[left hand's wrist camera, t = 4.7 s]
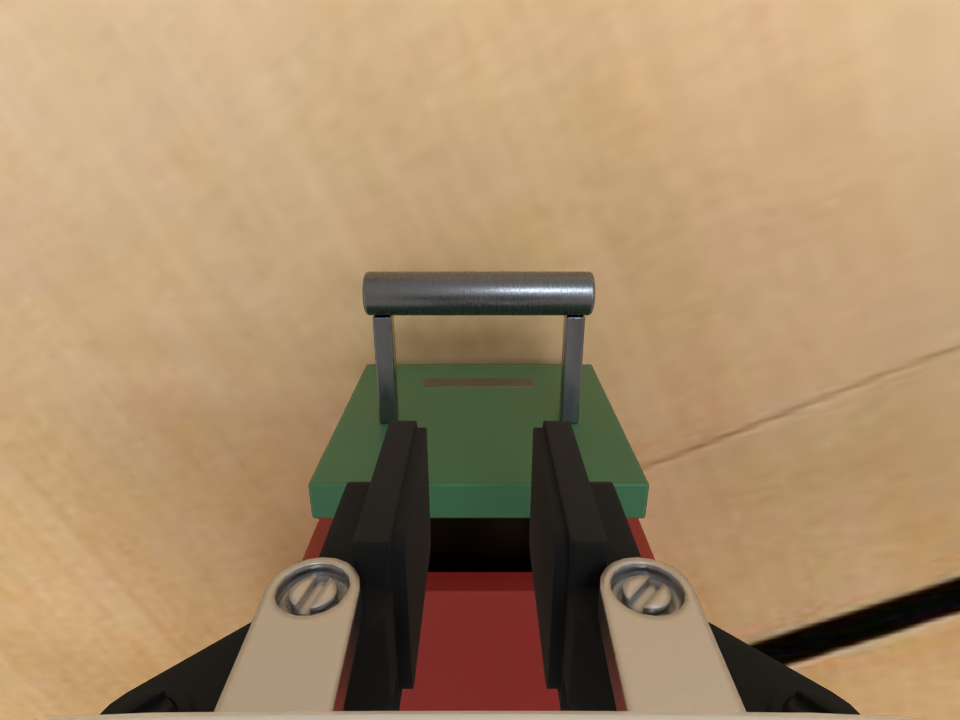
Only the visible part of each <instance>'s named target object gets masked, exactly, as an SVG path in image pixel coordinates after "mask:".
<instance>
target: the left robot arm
mask: <svg viewBox="0 0 960 720" xmlns="http://www.w3.org/2000/svg"><path fill="white" fill-rule="evenodd" d="M430 546H431V529H430V501H429V473H428V445H427V428H426V427H417V421H390V422H389V425H388V428H387V431H386V434H385V437H384V441H383V444H382V447H381V450H380V453H379V457H378V460H377V463H376V466H375V469H374V473H373V476H372V479H371V482H348V483H347V485H346V487H345V489H344V492H343V495H342V497H341V500H340V502H339V505H338V508H337V510H336V513H335V516H334V518H333V521H332V524H331V526H330V529H329V531H328V534H327V537H326V539H325V542H324V545H323V547H322V550H321V553H320V555H319V558H313V559H307V560H304V561H301V562H298V563H295V564H293V565H291V566H289V567H288V568H286V569H284V570H282V571H281V572H280V573H279V574H278V575H277V576H276V577H274V578H273V579H272V581H271V582H270V584H269V585H268V587H267V589H266V590H265V593H264V595H263V598H262V600H261V602H260V605H259V607H258V609H257V612H256V614H255V616H254V619H253V621H252V622H251V623H249V624H247V625H246V626H244V627H242V628H240V629H239V630H237V631H235V632H233V633H231V634H230V635H228V636H226V637H224V638H223V639H221V640H219V641H217V642H216V643H214V644H212V645H210V646H209V647H207V648H205V649H203V650H201V651H200V652H198V653H196V654H194V655H193V656H191V657H189V658H187V659H186V660H184V661H182V662H180V663H178V664H177V665H175V666H173V667H171V668H170V669H168V670H166V671H164V672H163V673H161V674H159V675H157V676H156V677H154V678H152V679H150V680H148V681H147V682H145V683H143V684H141V685H140V686H138V687H136V688H134V689H133V690H131V691H129V692H127V693H126V694H124V695H123V696H121V697H120V698H119V699H117V700H116V701H114V702H113V703H111V704H110V705H109V706H108V707H107V708H106V709H105V710H104V711H103V712H102V713H101V714H100V715H84V716H62V717H53V718H45V719H36V720H924V719H915V718H907V717H898V716H875V715H860V714H859V713H858V712H857V711H856V710H855V709H854V708H853V707H852V706H851V705H850V704H849V703H847V702H846V701H844V700H843V699H841V698H840V697H839V696H837V695H836V694H834V693H833V692H831V691H829V690H827V689H826V688H824V687H822V686H820V685H819V684H817V683H815V682H813V681H812V680H810V679H808V678H806V677H804V676H803V675H801V674H799V673H797V672H796V671H794V670H792V669H790V668H789V667H787V666H785V665H783V664H782V663H780V662H778V661H776V660H774V659H773V658H771V657H769V656H767V655H766V654H764V653H762V652H760V651H759V650H757V649H755V648H753V647H751V646H750V645H748V644H746V643H744V642H743V641H741V640H739V639H737V638H736V637H734V636H732V635H730V634H729V633H727V632H725V631H723V630H721V629H720V628H718V627H716V626H714V625H713V624H711V623H709V622H708V621H707V619H706V616H705V614H704V612H703V609H702V607H701V605H700V602H699V600H698V598H697V595H696V593H695V590H694V589H693V587H692V585H691V584H690V582H689V581H688V579H687V578H686V577H684V576H683V575H682V574H681V573H680V572H679V571H678V570H676V569H674V568H672V567H671V566H669V565H667V564H665V563H662V562H659V561H656V560H653V559H647V558H641V555H640V553H639V550H638V547H637V545H636V542H635V539H634V537H633V534H632V531H631V529H630V526H629V524H628V521H627V518H626V516H625V513H624V510H623V508H622V505H621V502H620V500H619V497H618V495H617V492H616V489H615V487H614V485H613V483H612V482H589V479H588V476H587V473H586V469H585V466H584V463H583V460H582V457H581V453H580V450H579V447H578V444H577V441H576V437H575V434H574V431H573V428H572V425H571V422H570V421H543V427H534V428H533V446H532V473H531V501H530V529H529V546H530V557H531V565H532V574H533V582H534V591H535V599H536V608H537V616H538V624H539V633H540V641H541V650H542V658H543V666H544V675H545V683H546V688H547V689H558V696H559V703H560V711H400V703H401V696H402V689H413V688H414V683H415V675H416V667H417V658H418V650H419V641H420V633H421V624H422V616H423V608H424V599H425V591H426V582H427V574H428V565H429V557H430Z"/></svg>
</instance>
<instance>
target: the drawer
mask: <svg viewBox="0 0 960 720" xmlns="http://www.w3.org/2000/svg"><path fill="white" fill-rule="evenodd" d="M594 302H595V282H594V277H593V274H592V273H591V272H367V273H365V276H364V279H363V305H364V309H365V312H366V314H368V315H374V317H373V329H374V344H375V359H376V365H367V366H366V368H365V370H364V372H363V374H362V376H361V378H360V380H359V382H358V384H357V386H356V388H355V390H354V392H353V394H352V396H351V398H350V400H349V403H348V405H347V407H346V409H345V411H344V413H343V415H342V417H341V419H340V421H339V423H338V425H337V427H336V429H335V431H334V433H333V435H332V437H331V439H330V442H329V444H328V446H327V448H326V450H325V452H324V454H323V456H322V458H321V460H320V462H319V464H318V466H317V468H316V470H315V472H314V474H313V476H312V478H311V481H310V483H309V493H310V502H311V510H312V516H313V518H334V516H335V513H336V510H337V508H338V505H339V502H340V500H341V497H342V495H343V492H344V489H345V487H346V485H347V483H348V482H371V479H372V476H373V473H374V469H375V466H376V463H377V460H378V457H379V453H380V450H381V447H382V444H383V441H384V437H385V434H386V431H387V428H388V425H389V422H390V421H417V427H426V428H427V445H428V473H429V501H430V529H431V546H430V557H429V565H428V572H532V565H531V557H530V546H529V529H530V501H531V473H532V446H533V428H534V427H543V421H570V422H571V425H572V428H573V431H574V434H575V437H576V441H577V444H578V447H579V450H580V453H581V457H582V460H583V463H584V466H585V469H586V473H587V476H588V479H589V482H612V483H613V485H614V487H615V489H616V492H617V495H618V497H619V500H620V502H621V505H622V508H623V510H624V513H625V516H626V518H644V517H645V515H646V506H647V498H648V489H649V484H648V482H647V479H646V477H645V475H644V473H643V471H642V469H641V467H640V465H639V463H638V461H637V459H636V457H635V454H634V452H633V450H632V448H631V446H630V444H629V442H628V440H627V438H626V436H625V434H624V432H623V430H622V427H621V425H620V423H619V421H618V419H617V417H616V415H615V413H614V411H613V409H612V407H611V405H610V402H609V400H608V398H607V396H606V394H605V392H604V390H603V388H602V386H601V384H600V382H599V380H598V378H597V375H596V373H595V371H594V369H593V367H592V365H582V356H583V341H584V326H585V317H584V315H590V314H591V313H592V311H593V308H594ZM394 315H564V328H563V347H562V365H396V352H395V333H394Z"/></svg>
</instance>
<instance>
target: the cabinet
mask: <svg viewBox="0 0 960 720" xmlns="http://www.w3.org/2000/svg"><path fill="white" fill-rule="evenodd" d="M332 521H333V518H320V519H319V521H318V524H317V526H316V529H315V531H314V533H313V536H312V538H311V541H310V543H309V546H308V548H307V550H306V553H305V555H304V558H303V560H302V561H304V560H307V559H313V558H319V555H320V553H321V550H322V547H323V545H324V542H325V539H326V537H327V534H328V531H329V529H330V526H331V524H332ZM627 521H628V524H629V526H630V529H631V531H632V534H633V537H634V539H635V542H636V545H637V547H638V550H639V553H640V555H641V558H647V559H653V560H655V558H654V556H653V554H652V551H651V549H650V546H649V544H648V541H647V539H646V537H645V534H644V532H643V529H642V527H641V524H640V522H639V519H638V518H627ZM400 711H560V703H559V696H558V689H547V688H546V683H545V675H544V666H543V658H542V650H541V641H540V633H539V624H538V616H537V608H536V599H535V591H534V582H533V574H532V572H428V574H427V582H426V591H425V599H424V608H423V616H422V624H421V633H420V641H419V650H418V658H417V667H416V675H415V683H414V688H413V689H402V696H401V703H400Z"/></svg>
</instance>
